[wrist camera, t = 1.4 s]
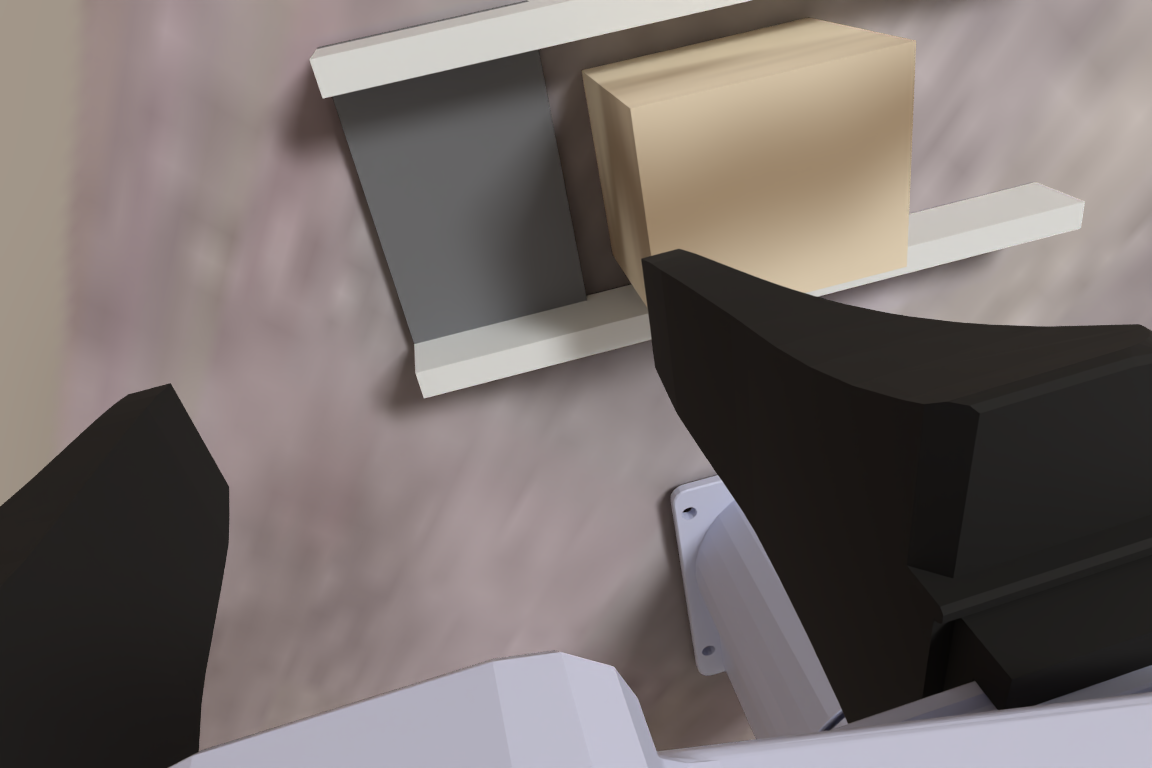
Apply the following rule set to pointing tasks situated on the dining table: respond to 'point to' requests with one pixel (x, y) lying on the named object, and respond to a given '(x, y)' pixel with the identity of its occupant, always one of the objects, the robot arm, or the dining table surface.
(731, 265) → the maple block
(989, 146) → the dining table surface
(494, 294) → the white u-shaped piece
